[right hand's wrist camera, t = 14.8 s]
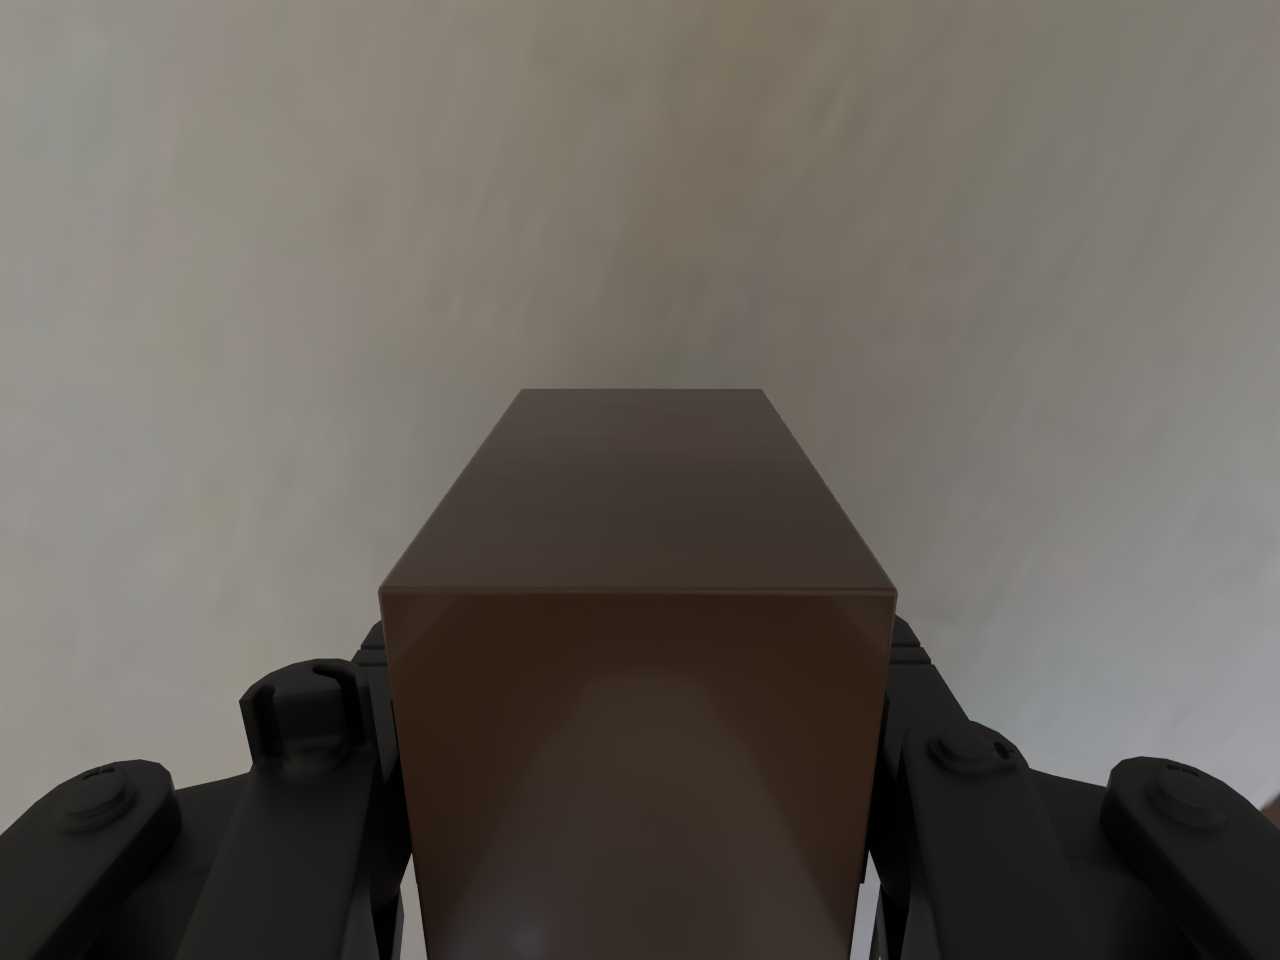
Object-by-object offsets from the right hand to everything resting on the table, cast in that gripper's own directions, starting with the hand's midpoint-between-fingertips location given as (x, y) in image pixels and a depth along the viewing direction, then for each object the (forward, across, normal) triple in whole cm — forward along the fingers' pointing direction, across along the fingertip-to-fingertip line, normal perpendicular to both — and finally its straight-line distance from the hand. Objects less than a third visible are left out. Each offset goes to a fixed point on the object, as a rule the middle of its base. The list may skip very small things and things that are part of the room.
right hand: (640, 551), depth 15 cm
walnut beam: (-1, 0, -11) cm, 11 cm away
